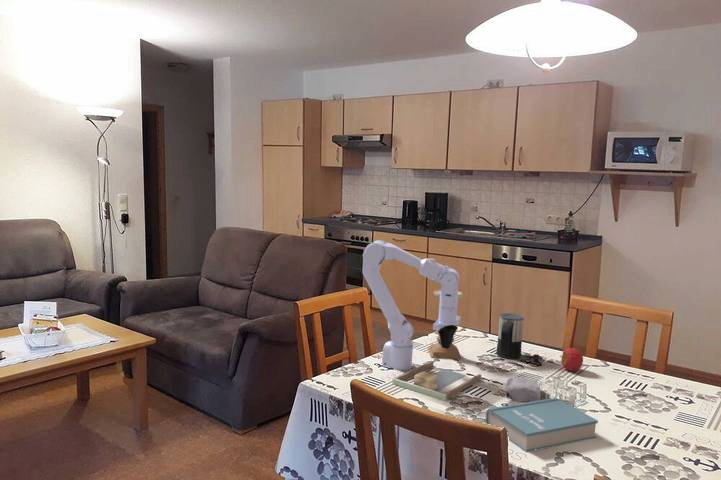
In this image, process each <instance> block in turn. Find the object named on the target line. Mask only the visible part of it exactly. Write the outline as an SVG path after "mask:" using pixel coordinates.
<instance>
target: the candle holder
mask: <svg viewBox="0 0 721 480" xmlns="http://www.w3.org/2000/svg"><path fill="white" fill-rule="evenodd" d="M440 292H441V288H440V289H436V290H434V291H433V295H434V296H437V297H439V298H440ZM463 295H464V293H463V292H462V291H460V290H458V299H460V298H462V297H463ZM454 326H456V325H454ZM435 332H436V333H437V334H438V335H437V337H436V341H437V342H436V343H432V344H430V346H429V347H428V348H427V350H428V353H429V357H430V358H431V359H444V360H446V359H447V360H463V357H462V355H461V353H460V350H459V349H458V346H457V345H455V344H454V342H455V338H454V337H453V338H452V341H451V345H450V348H448V349H446V348H442V345H441V339H440V336H439V333H438V331H437V330H435ZM456 333H457V331H456V332H455V334H456Z"/></svg>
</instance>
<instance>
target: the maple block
mask: <svg viewBox="0 0 721 480" xmlns="http://www.w3.org/2000/svg"><path fill="white" fill-rule="evenodd" d="M434 374H435V373H434ZM434 374H433V373H431V372H427V371H425V370H424V371H422V372H419V373H417V374H415V375H413V384H414V385H417V386H421V387H424V388H427V389H430V390H435V389H436V388H437V376H438V375H434Z"/></svg>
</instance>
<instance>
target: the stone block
mask: <svg viewBox="0 0 721 480" xmlns="http://www.w3.org/2000/svg"><path fill="white" fill-rule="evenodd" d="M538 382H539V381H538V379H531V378H528V377H523V376H521V377H520V376H517V377H510V378H508V379H507V380H506V384H505V389H506V391H507V393H506V395H507V396H508V397H509V398H510V399H511V400H515V401H519V402H520V401H521V402H533V401H539V400H541V387H540V385H539V383H538Z"/></svg>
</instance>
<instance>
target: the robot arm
mask: <svg viewBox="0 0 721 480" xmlns="http://www.w3.org/2000/svg"><path fill="white" fill-rule="evenodd" d="M390 260H397V261H398V262H401V263H404V264H406V265H408V266H410V267H412V268H415V269H417V270H418V274H419V275H421V276H424V277H425V278H427V279H429V280H431V281H433V282H435V283H440V285H441V287H440V289H441V292H440V297H439V306H438V319H437V320H436V321H435V322H434V323H432V330H433V331H436V330H437V331H438V333H439V334H438V333H437V334H438V335H439V336H440V339H441V345H442V348H446V349H448V348H450V345H451V341H452V338H454V336H455V334H456V333H457V330H458V328H459V327H458V325H460V323H461V319H462V316H460V315H458V305H459V304H458V303H459V298H458V291H459V284H460V274H459V272H458V271H457V270H456V269H455V268H453V267H449V266H448V265H443V264H441V263H439V262H437V261H436V259H435V258H432V257H431V258H427V257H426V258H424V259H421V258H419V257H418V256H416V255H414V254H412V253H410V252H409V251H406V250H404V249H403V248H400V247H399V246H398V245H394V244H393V243H390V242H386V241H385V240H382V239H378V240H375V241H373V242H372V243H369V244H367V246H366V247H365V249H364V251H363V253H362V270H361V271H362V275H363V277H364V279H365V280H366V282H367V285H368V287H369V289H370V290H371V292H372V295H373V296H374V298H375V300H376V302H377V304H378V306H379V307H380V310H381V312H382V313H383V315H384V317H385V319H386V321H387V327H388V331H389V332H390V340H388V341H387V342H385V344H384V345H383V349H382V361H381V368H383V367H385V366H386V367H389V368H391V369H393V370H399V371H407V370H408V371H409V370H410V369H412V367H413V347H414V346H413V345H414V343H413V342H412V339H411V338H412V337H413V335H414V332H415V328H414V326H413V325H412V324H411V322H409V321H408V320H407V319H406V317H405V316H404V315H403V314H402V312H401V311H400V309H399V307H398V306H397V303H396V302H395V299H394V298H393V296H392V294H391V292H390V291H389V289H388V287H387V285H386V283H385V281H384V278H383V277H382V275H381V273H380V269H381V267H382V263H383V261H390ZM454 325H455V326H454ZM455 332H456V333H455Z"/></svg>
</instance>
